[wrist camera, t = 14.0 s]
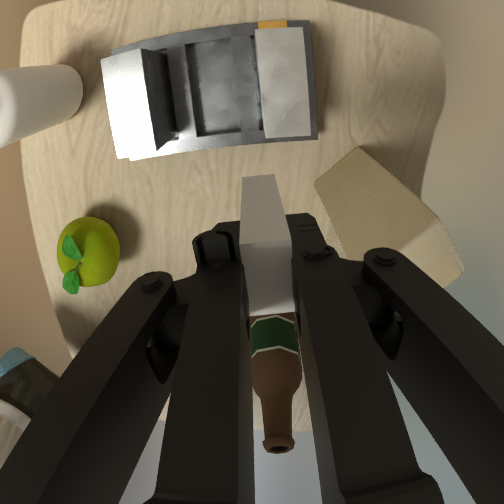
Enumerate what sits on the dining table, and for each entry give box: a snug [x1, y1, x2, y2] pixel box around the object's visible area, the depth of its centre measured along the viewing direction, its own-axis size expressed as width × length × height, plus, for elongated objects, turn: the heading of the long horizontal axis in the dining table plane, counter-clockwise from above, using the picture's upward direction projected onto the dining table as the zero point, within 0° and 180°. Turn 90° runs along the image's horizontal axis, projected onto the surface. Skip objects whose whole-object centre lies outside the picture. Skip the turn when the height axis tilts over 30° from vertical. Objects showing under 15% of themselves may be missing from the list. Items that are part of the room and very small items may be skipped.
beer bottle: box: [249, 312, 302, 454], centre depth 42 cm, size 8×8×24 cm
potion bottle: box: [0, 64, 83, 148], centre depth 25 cm, size 8×8×18 cm
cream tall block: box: [314, 147, 465, 288], centre depth 31 cm, size 8×7×21 cm
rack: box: [101, 20, 318, 161], centre depth 29 cm, size 22×14×11 cm, turn 95°
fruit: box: [57, 217, 120, 294], centre depth 40 cm, size 9×9×10 cm
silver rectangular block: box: [254, 27, 311, 138], centre depth 29 cm, size 4×10×10 cm, turn 6°
